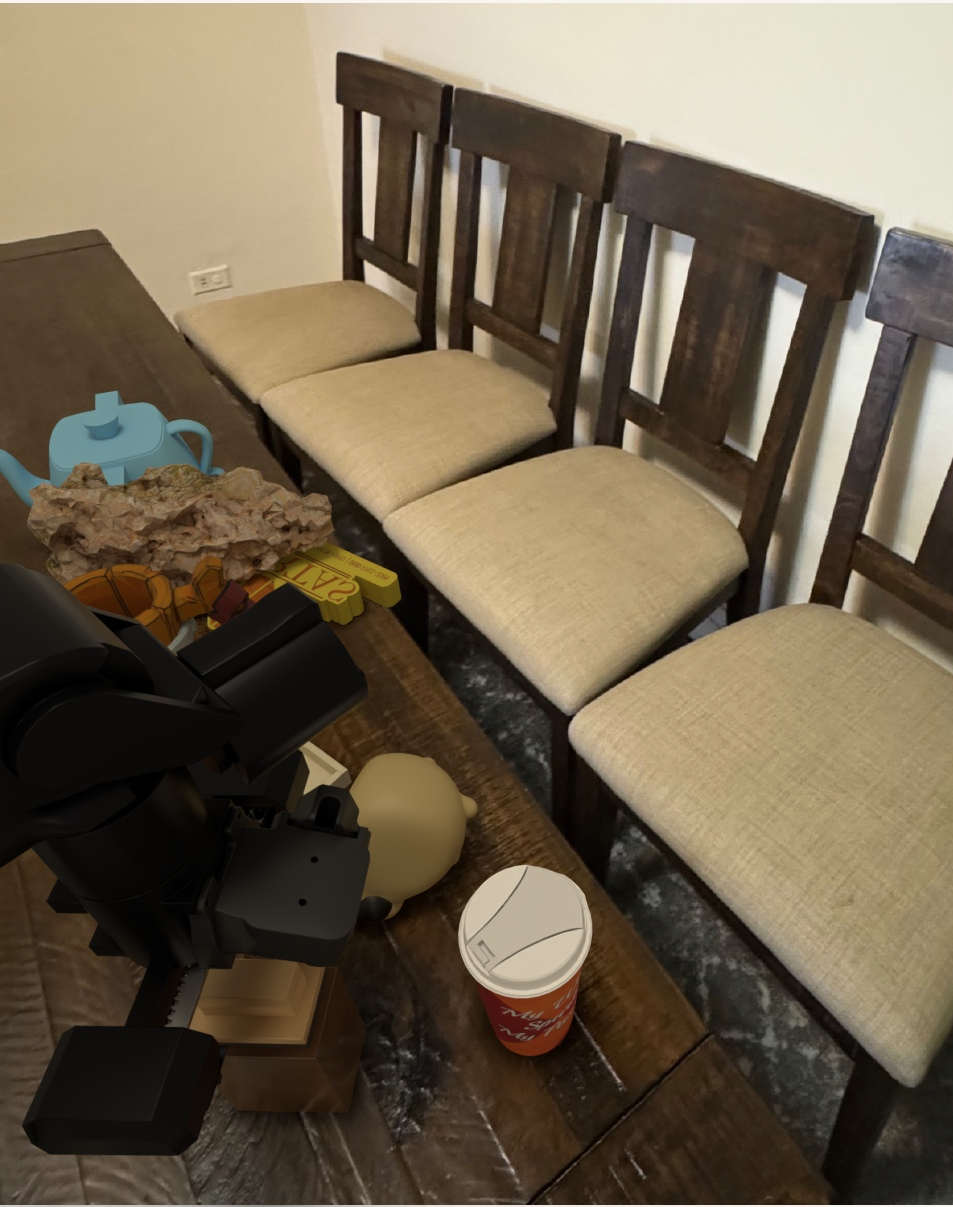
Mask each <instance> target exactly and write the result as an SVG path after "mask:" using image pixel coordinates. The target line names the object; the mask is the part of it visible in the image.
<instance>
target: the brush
mask: <svg viewBox="0 0 953 1207" xmlns="http://www.w3.org/2000/svg"><path fill="white" fill-rule="evenodd" d="M326 977H327V974H326V972H325V967H313V966H308V965H307V964H304V963H299V962H292V961H286V960H279V959H270V958H267V959H264V958H262V959H261V958H235V960H234V964H233V967H232V969H209V972H208V975H207V978H206V981H205V984H204V987H203V990H202V993H201V996H200V999H199V1001H198V1004H197V1007H196V1010H195V1013H194V1016H193V1019H192V1022H191V1025H190V1028H189V1029H192V1030H196V1031H199V1032H203V1033H206V1034H210V1035H213V1037H214V1038H215V1039H216V1040H217V1041H218V1042H219V1044H220V1046H228V1047H244V1048H292V1049H309V1046H310V1042H311V1038H312V1034H313V1030H314V1026H315V1022H316V1018H317V1014H318V1009H319V1005H320V1001H321V997H322V993H323V989H324V985H325V981H326Z"/></svg>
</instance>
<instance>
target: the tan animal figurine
mask: <svg viewBox="0 0 953 1207" xmlns="http://www.w3.org/2000/svg"><path fill="white" fill-rule="evenodd" d="M348 791H349V792H350V794H351V795H352V797H353V799H354V801H355V803H356V804H357V806H358V808H359V815H358V820H357V822H358V825H359V826H362V827H367V828H368V830H369V831H370V832H371V838H370V842H369V847H368V850H369V853H370V863H369V868H368V872H367V877H366V881H365V886H364V890H363V894H362V899H361V903H360V908H359V912H358V917H357V920H359V921H361V922H362V923H364V924H366V925H367V924H368V925H375V924H379V923H381V922H383V921H386V920H389V919H391V918H393V917H394V916H396V915H397V913H398V912H399V911H400V910H401V908H402V907H403V905H404V902H405V900H408V899H410V898H412V897H415V896H418V895H419V894H422V893H424V892H425V891H427V890H429V889H430V888H431V887H433V886H435V885H436V884H437V883H438V882H439V881H441V880H442V878H443V877H445V875H446V874H447V873H448V872H449V871H450V870H451V868H452V867H453V866H454V865H456V864H457V863H458V862H459V860H460V858H461V851H462V848H463V845H464V843H465V838H466V833H467V832H466V831H467V821H468V820H469V819H472V818H474V817H475V816H476V815H477V813H478V809H479V807H478V804H477V801H475V800H474V799H473V798H471V797H469V796H466V795H464V794H462V793H461V792H460V790H459V789H458V786H457V785H456V783H455V781H453V779H452V778H451V776H450V775H449V774H448V773H447V772H446V771H445V769H442V767H440V766H439V765H438V764H437V762H436V760H435V759H434V758H431V757H429V756H427V757H423V756H419V755H415V754H411V753H405V752H391V753H384V754H383V753H382V754H379V755H376V756H374V757H373V758H371V759H370V760H369V761H368V762H367V763H366V764H365V765H364V766H363V767H362V769H361V770H360V772H359V774H358V775H357V776H356V779H355V780H354V782H353V784H352V785H351V788H350V789H349V790H348Z"/></svg>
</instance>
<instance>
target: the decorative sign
mask: <svg viewBox="0 0 953 1207" xmlns="http://www.w3.org/2000/svg"><path fill="white" fill-rule="evenodd" d="M235 582H236V583H238V584H239V585H240V586H241V587H242V588H243V589H244V590H245V591H247V592H248V593H249V598H250V599H251V600H253V601H254V602H255V603H256V602H258V601H259V600H260V599H261V598H262V597H264V596H265V595H267V594H268V593H270V592H271V591H273V590H275V589H277V588H278V587H280V586H282V585H283V584H285V583H287V582H288V583H292V584H294V585H295V586H296V587H298V588H299V589H300V590H302V591H303V592H304V593H306V594H307V595H308V596H309V597H311V598H312V599H313V600H315V601H316V602H317V603H318V604H319V607H320V610H321V614H322V617H323V620H324V621H325V622H326V623H327V622H328V623H329V622H331V621H333V622H335V623H337V624H339V625H342V626H346V625H347V624H348V623H350V622H351V621H352V620H354V617H357V616H360V615H361V614H363V612H364V610H365V605H364V600H363V598H364V599H367V600H369V601H371V602H373V603H376V604H377V605H380V606H382V607H384V608H391V607H392V608H393V607H395V605H396V604H397V603H399V602H400V601H401V600H402V593H401V588H400V583H399V577H398V574H397V573H396V572H394V571H392V570H389V569H388V568H385V567H383V566H381V565H379V564H377V563H375V562H372V561H369V560H367V559H365V558H363V557H361V556H358V555H357V554H354V553H352V552H350V551H347V550H345V549H343V548H340V547H339V546H337V545H334V544H332V543H330V542H328V541H327V542H326V543H325V544H324V545H323V547H314V548H311V549H308V550H306V551H305V552H303V551H302V550H301V551H296V552H294V553H293V554H291V555H290V556H285V557H282V558H281V559H280V561H279V562H278V563H276V564H275V569H274V570H273V571H270V572H267V571H266V572H263V573H261V574H254V575H253V576H252V577H251V578H250V579H248V580H237V581H235ZM219 626H221V624H220V623H219V622H217V621H215V620H213V619H211V618H209V617H208V616H207V628H208V630H209V632H211V631H212V630H214V629H216V628H217V627H219Z"/></svg>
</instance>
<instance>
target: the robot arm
mask: <svg viewBox="0 0 953 1207" xmlns="http://www.w3.org/2000/svg"><path fill="white" fill-rule="evenodd" d="M176 653H177V655H178V656H177V655H175V654H174V653H173V652H172V651H171V650H170V649H169V648H168V647H167V646H166V645H165V644H164V643H163V642H161V641H160V640H159V639H158V638H157V637H156V636H155V635H154V634H153V633H152V632H151V631H150V630H149V629H147V628H146V627H145V626H144V625H143V624H142V623H141V622H140V621H139V620H136V619H133V618H129V617H126V616H122V615H119V614H115V613H111V612H108V611H104V610H101V609H97V608H94V607H90V606H86V605H84V604H83V603H82V602H81V601H79V600H78V599H77V598H76V597H75V596H74V595H73V594H72V593H71V592H70V591H69V590H68V589H67V588H65V587H64V586H63V585H62V584H61V583H60V582H59V581H57V580H56V579H55V578H54V577H53V576H49V575H46V574H45V573H42V572H39V571H36V570H34V569H30V568H26V567H25V566H24V565H23V564H20V563H8V562H7V563H6V562H5V563H4V562H3V563H2V562H0V869H2V868H4V867H5V866H6V865H8V864H10V863H12V861H14V860H15V859H17V858H19V857H20V856H21V855H23V854H25V853H27V852H28V851H29V850H30V849H31V850H32V851H33V852H34V853H35V854H36V856H38V858H39V859H40V861H42V862H43V863H44V865H45V866H46V867H47V868H48V869H49V870H50V871H51V872H52V873H53V875H54V876H55V877H56V878H57V879H56V881H55V883H54V884H53V887H52V889H51V891H50V893H49V895H48V897H47V899H46V901H45V903H46V904H47V905H48V906H49V907H50V908H51V909H52V910H53V911H54V912H55V913H56V914H71V915H72V914H75V915H76V914H77V915H90V917H91V918H92V919H93V920H94V921H95V923H97V926H96V928H95V930H94V932H93V935H92V937H91V939H90V941H89V943H88V946H87V947H88V948H89V950H90V951H92V952H93V953H94V955H95V956H96V957H123V958H124V957H127V958H129V960H130V961H132V962H133V963H134V964H136V965H138V966H139V967H142V968H144V969H145V972H144V975H143V977H142V980H141V982H140V985H139V987H138V990H137V993H136V996H135V998H134V1000H133V1003H132V1005H131V1008H130V1011H129V1013H128V1015H127V1018H126V1021H125V1023H124V1025H73V1026H72V1027H71V1028H69V1029H67V1030H65V1031H64V1032H62V1033H61V1035H60V1038H59V1040H58V1041H57V1044H56V1046H55V1049H54V1051H53V1052H52V1055H51V1058H50V1059H49V1062H48V1065H47V1066H46V1069H45V1072H44V1074H43V1076H42V1078H41V1079H40V1080H41V1081H40V1083H39V1085H38V1087H37V1089H36V1092H35V1093H34V1096H33V1098H32V1101H31V1103H30V1105H29V1108H28V1110H27V1112H26V1115H25V1117H24V1119H23V1121H22V1123H21V1128H22V1130H23V1131H24V1133H25V1134H26V1137H27V1139H28V1140H29V1142H30V1144H31V1145H32V1146H34V1147H36V1148H38V1149H39V1150H41V1151H43V1152H45V1153H46V1154H48V1155H49V1156H55V1155H56V1156H64V1155H65V1156H133V1157H135V1156H137V1157H139V1156H142V1157H143V1156H144V1157H145V1156H149V1157H156V1156H157V1157H179V1156H181V1155H182V1154H183V1153H184V1152H185V1151H186V1150H188V1149H189V1148H190V1147H191V1146H193V1144H194V1143H196V1142H197V1141H198V1140H199V1137H200V1133H201V1131H202V1127H203V1124H204V1120H205V1118H206V1114H207V1112H208V1111H209V1109H210V1107H211V1104H212V1101H213V1099H214V1095H215V1091H216V1089H217V1088H216V1086H218V1085H220V1083H221V1080H222V1074H221V1069H222V1065H223V1062H224V1059H225V1055H226V1052H227V1049H228V1046H220V1044H219V1042H218V1041H217V1040H216V1039H215V1038H214V1037H213V1035H210V1034H206V1033H203V1032H199V1031H196V1030H192V1029H189V1028H190V1025H191V1022H192V1019H193V1016H194V1013H195V1010H196V1007H197V1004H198V1001H199V999H200V996H201V993H202V990H203V987H204V984H205V981H206V978H207V975H208V972H209V969H232V967H233V964H234V960H235V959H236V957H237V955H250V956H254V957H260V958H267V959H272V960H286V961H292V962H299V963H304V964H307V965H308V966H313V967H331V966H332V965H334V964H336V963H337V962H338V961H340V959H342V956H343V955H344V953H345V950H346V948H347V947H348V944H349V941H350V939H351V936H352V933H353V931H354V929H355V926H356V924H357V921H358V918H357V917H358V912H359V908H360V903H361V899H362V894H363V890H364V886H365V881H366V877H367V872H368V868H369V863H370V853H369V850H368V847H369V842H370V838H371V832H370V831H369V830H368V828H367V827H362V826H359V825H358V822H357V820H358V815H359V808H358V806H357V804H356V803H355V801H354V799H353V797H352V795H351V794H350V792H349V791H350V790H349V789H348V788H345V789H344V788H340V787H335V786H330V785H325V784H321V785H319V786H317V787H316V788H314V789H313V790H311V791H309V792H308V793H306V794H305V795H304V790H305V787H306V783H307V780H308V777H309V774H310V770H309V768H308V765H307V763H306V760H305V757H304V755H303V752H302V751H301V750H299V748H300V747H302V746H303V745H304V744H306V743H307V742H311V741H312V740H313V739H314V738H316V737H317V736H318V735H320V734H321V733H323V732H324V731H325V730H327V729H328V728H329V727H330V726H332V725H334V724H335V723H337V722H338V721H339V720H340V719H342V718H343V717H345V716H346V715H347V714H349V713H350V712H351V711H353V710H354V709H355V708H357V707H359V706H360V705H361V704H362V703H364V702H365V701H367V699H368V697H369V693H370V690H369V684H368V680H367V677H366V674H365V672H364V670H363V669H362V668H361V667H359V666H358V665H357V664H356V662H355V661H354V659H353V658H352V656H351V655H350V653H349V651H348V649H347V648H346V646H345V645H344V644H343V642H342V641H341V639H340V638H339V636H338V635H337V634H336V633H335V631H334V630H333V629H332V628H331V627H330V625H329V624H328V623H327V621H324V620H323V617H322V614H321V610H320V607H319V604H318V603H317V602H316V601H315V600H313V599H312V598H311V597H309V596H308V595H307V594H306V593H304V592H303V591H302V590H300V589H299V588H298V587H296V586H295V585H294V584H292V583H288V582H287V583H285V584H283V585H282V586H280V587H278V588H277V589H275V590H273V591H271V592H270V593H268V594H267V595H265V596H264V597H262V598H261V599H260V600H259V601H258V602H256V603H255V604H254V605H253V606H252V607H250V608H249V609H248V610H246V611H245V612H243V613H241V614H239V615H238V616H236V617H234V618H233V619H231V620H229V621H228V622H226V623H224V624H223V625H221V626H219V627H217V628H216V629H214V630H212V631H211V632H210V631H209V632H207V633H206V634H204V635H202V636H200V637H199V638H197V640H195V641H194V642H192V643H190V644H189V645H187V646H185V647H183V648H182V649H180V650H178V651H177V652H176Z"/></svg>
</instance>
